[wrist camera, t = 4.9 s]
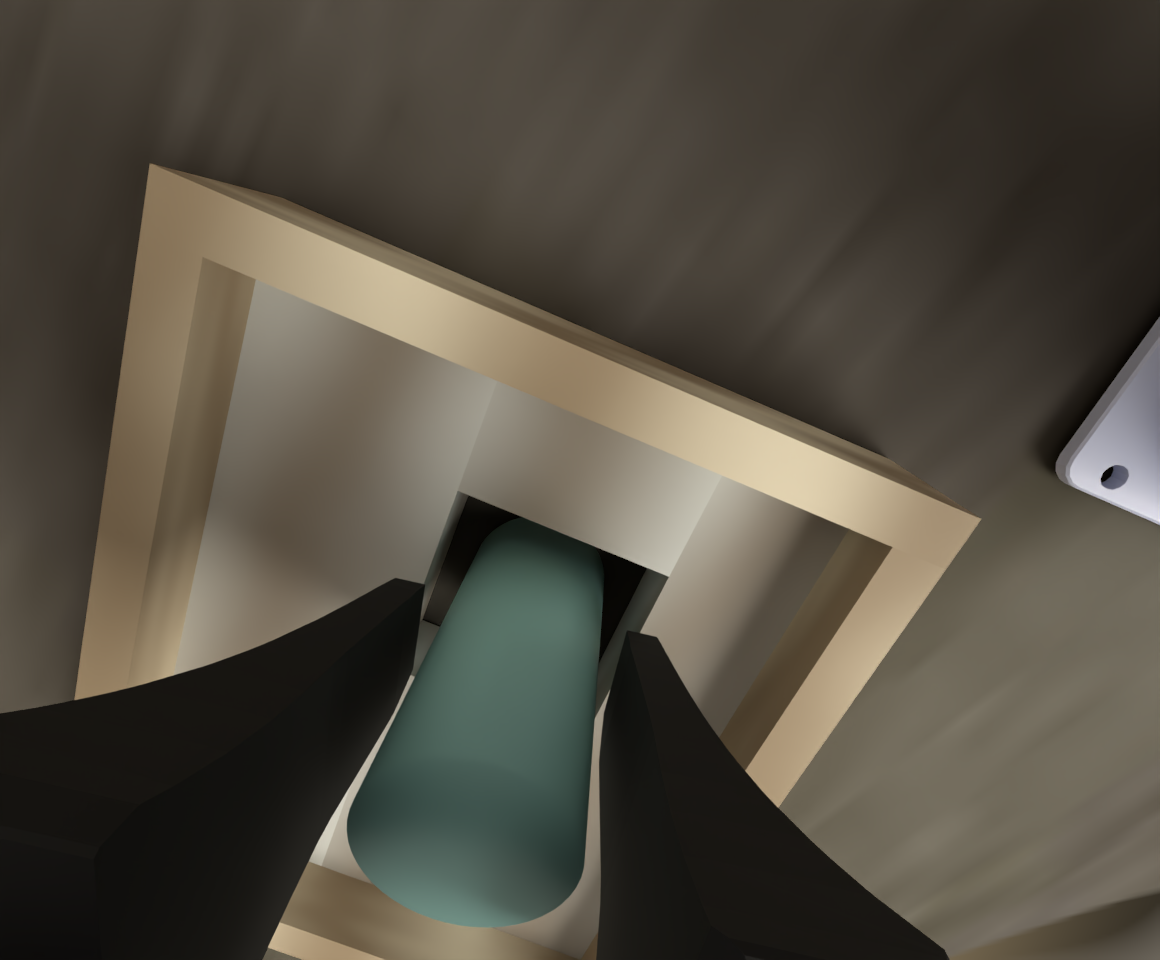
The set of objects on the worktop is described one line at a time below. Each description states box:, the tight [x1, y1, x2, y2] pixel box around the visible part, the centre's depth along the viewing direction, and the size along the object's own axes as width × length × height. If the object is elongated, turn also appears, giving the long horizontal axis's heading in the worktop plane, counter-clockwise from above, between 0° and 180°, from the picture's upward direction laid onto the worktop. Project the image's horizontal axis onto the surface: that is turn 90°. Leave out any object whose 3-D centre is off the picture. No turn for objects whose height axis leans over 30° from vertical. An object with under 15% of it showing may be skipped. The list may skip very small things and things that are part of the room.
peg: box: [347, 517, 605, 928], centre depth 11 cm, size 3×3×7 cm
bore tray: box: [75, 163, 981, 960], centre depth 13 cm, size 14×16×4 cm
